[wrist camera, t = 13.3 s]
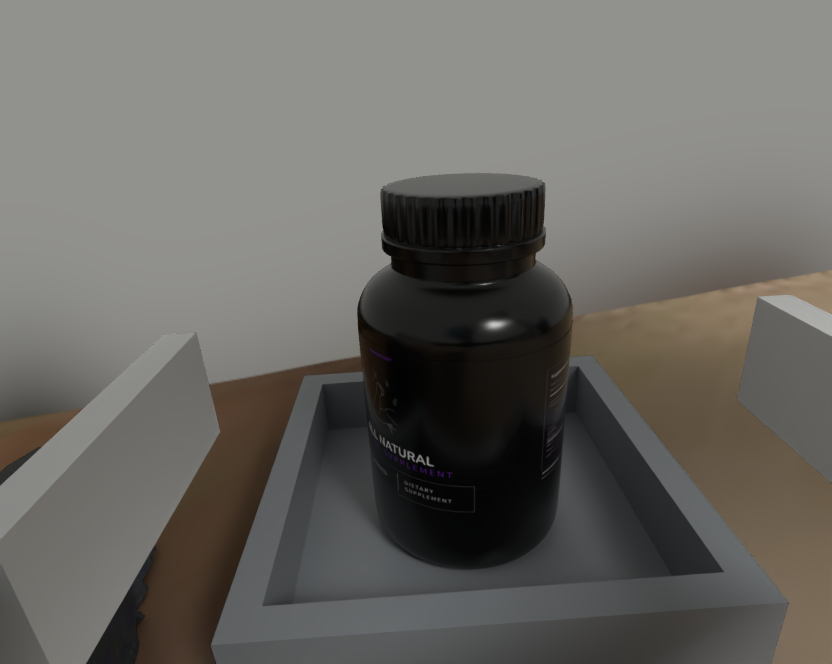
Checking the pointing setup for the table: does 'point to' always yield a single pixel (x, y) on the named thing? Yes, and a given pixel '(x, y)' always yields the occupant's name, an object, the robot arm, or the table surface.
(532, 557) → the tray
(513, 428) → the supplement bottle
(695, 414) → the table surface
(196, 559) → the table surface
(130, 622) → the dark slate chunk
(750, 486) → the table surface
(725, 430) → the table surface
